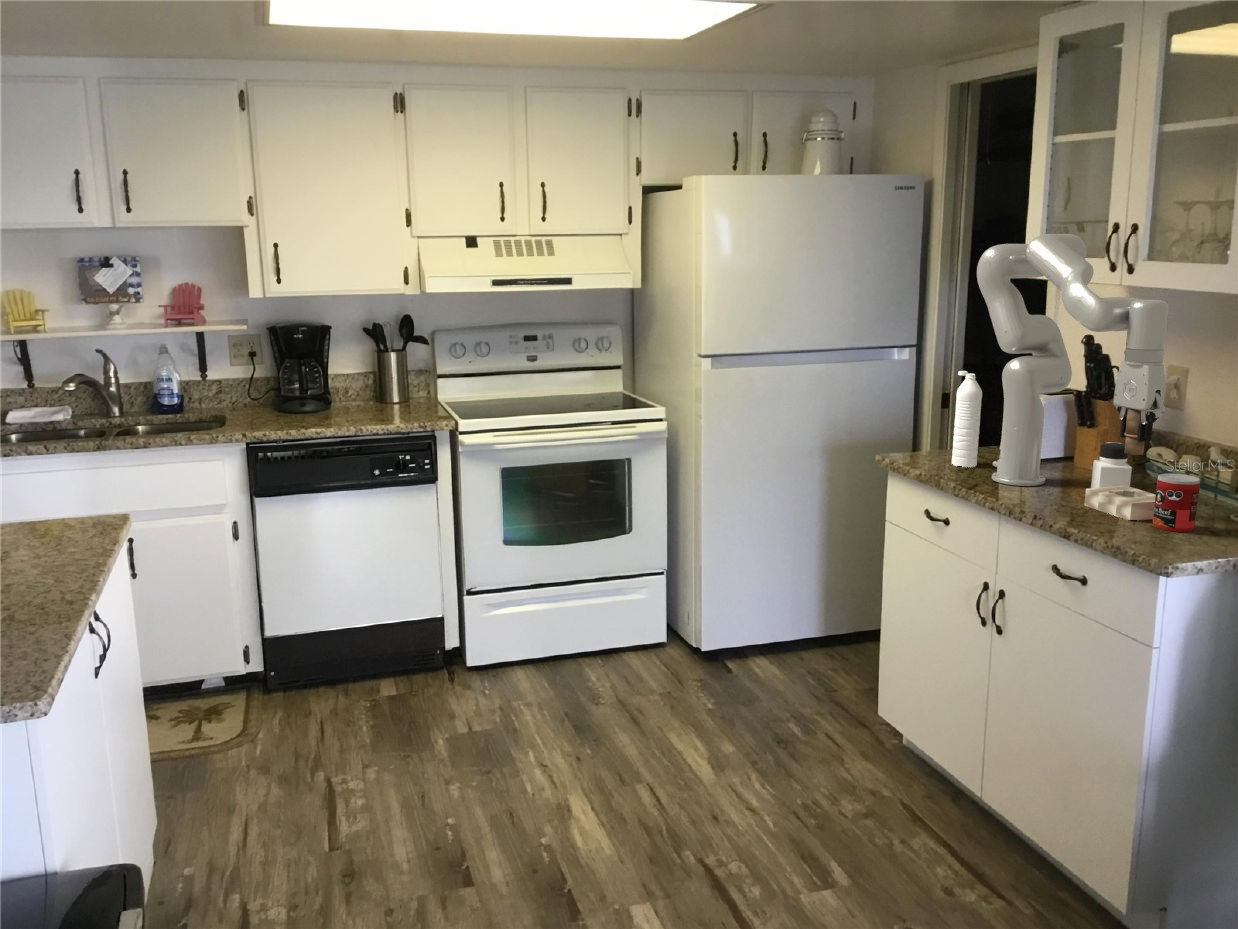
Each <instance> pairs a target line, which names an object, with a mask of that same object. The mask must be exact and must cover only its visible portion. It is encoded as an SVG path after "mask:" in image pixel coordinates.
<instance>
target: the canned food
mask: <svg viewBox="0 0 1238 929" xmlns="http://www.w3.org/2000/svg"><path fill="white" fill-rule="evenodd" d="M1200 485H1201V479H1200V477H1197V476H1194V475H1189V474H1185V473H1183V474H1182V473H1162V474H1159V475H1158V476H1157V480H1156V489H1155V495H1156V496H1155V505H1154V514H1153V519H1152V525H1153V527H1155V528H1156V527H1157V528H1156V529H1158V528H1159V530H1161V529H1162V530H1163V531H1167V532H1172V531H1173V533H1187V532H1188V533H1189V532H1192V531H1193V530H1194V528H1195V525H1196V520H1197V510H1198V504H1199V497H1200V496H1199V494H1200V489H1201V488H1200ZM1162 530H1161V531H1162Z"/></svg>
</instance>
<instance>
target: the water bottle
mask: <svg viewBox="0 0 1238 929" xmlns="http://www.w3.org/2000/svg"><path fill="white" fill-rule="evenodd" d="M957 375H958V376H964V377H965V379H964V380H963V381H962V383H961V384H960V386H959V387H958V388H957V390H956V401H955V411H954V412H955V413H954V414H955V416H954V423H953V425H954V427H953V438H952V439H953V441H952V454H951V455H952V456H951V465H952V464H953V465H952V466H954V467H957V466H962V467H961V468H967V467H968V468H967V469H969V467H970V468H975V467H977V464H978V449H979V435H980V425H981V411H982V410H981V409H982V398H983V390H982V388H981V386H980V385H979V383H978V382H977V380H976V378H977V376H976V374H975V373H969V371H966V370H960V371H959V370H958V372H957Z"/></svg>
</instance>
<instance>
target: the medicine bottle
mask: <svg viewBox="0 0 1238 929" xmlns="http://www.w3.org/2000/svg"><path fill="white" fill-rule="evenodd" d="M1124 451H1125V443H1121V442H1112V441H1111V442H1110V441H1109V442H1104V443H1102V444H1100V451H1099V459H1094V460H1093V463H1092V464H1093V465H1092V475H1091V483H1090V488H1100V487H1112V486H1125V485H1126V486H1129V487H1131V483H1132V482H1131V481H1132V474H1133V467H1132V466H1131V465H1130V464H1128V463H1127V462H1128V455H1129V454H1126V453H1124Z"/></svg>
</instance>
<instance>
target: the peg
mask: <svg viewBox="0 0 1238 929" xmlns="http://www.w3.org/2000/svg"><path fill="white" fill-rule="evenodd" d="M1148 415H1149V412H1147V416H1148ZM1141 423H1142V421H1141V410H1135V409H1130V408H1128V412H1127V422H1126V431H1125V434H1124V435H1125V436H1126V438H1125V442H1124V444H1125V451H1124V453H1126V454H1128V455H1130V456H1143V455H1144V451H1145V443H1146V442H1139V441H1138V440H1137V439H1138V429H1139V424H1141Z"/></svg>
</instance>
